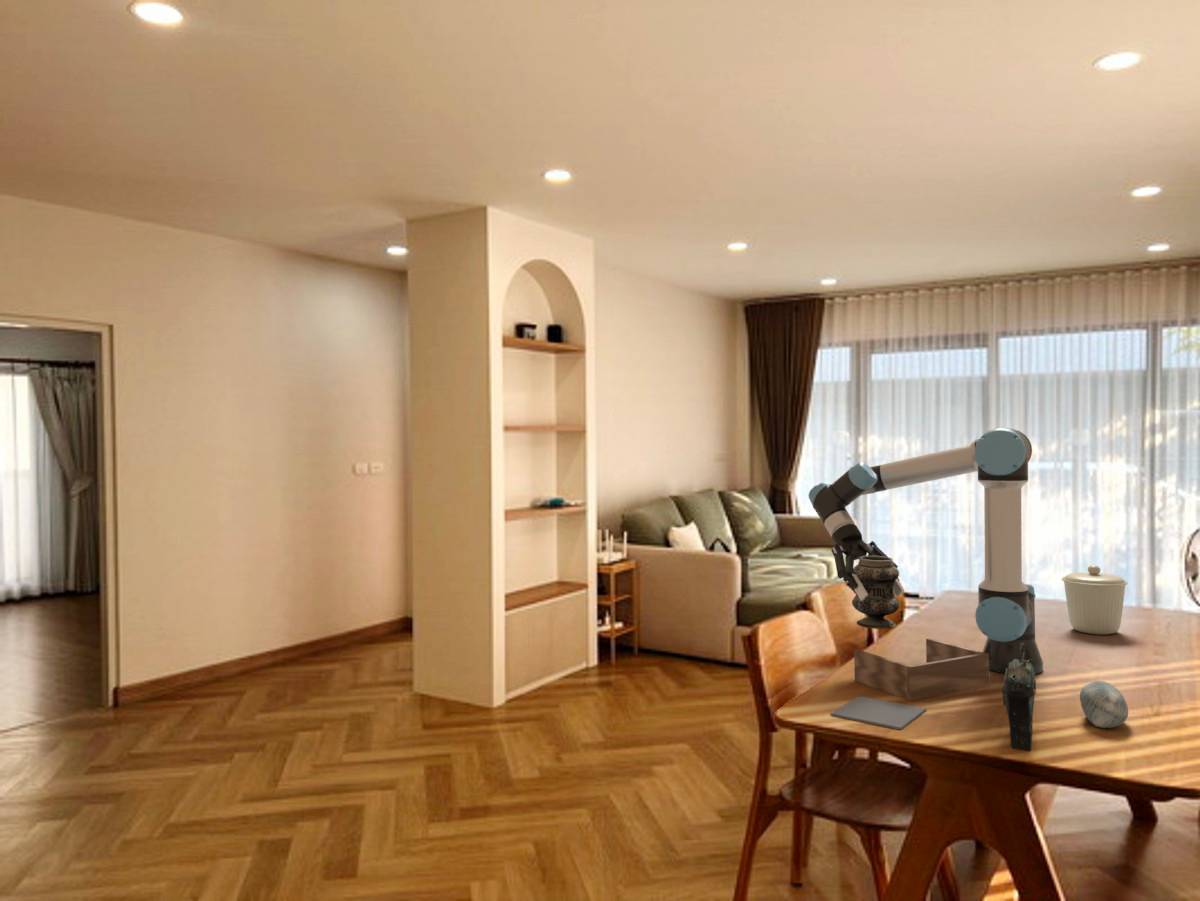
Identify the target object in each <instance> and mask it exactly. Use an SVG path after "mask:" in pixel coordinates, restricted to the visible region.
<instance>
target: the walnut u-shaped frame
mask: <svg viewBox="0 0 1200 901" xmlns="http://www.w3.org/2000/svg"><path fill="white" fill-rule="evenodd" d="M925 652H926V653H925V654H926V658H925V659H926V662H925V663H918V664H912V665H909V664H906V663H905V662H904V663H903V662H900V661H897V660H894V659H890V658H887V657H884V656H882V655H881V656H880V655H877V654H874V653H871V652H868V651H864V650H861V649H854V650H853V653H854V654H853V655H854V656H853V657H854V659H853V660H854V681H855V682H857V681H858V682H857V683H860V682H861V683H860V684H862V683H863V685H865V684H866V685H865V686H868V687H871V686H872V687H871V688H873V689H876V688H877V689H876V690H879V689H880V691H882V690H883V692H885V693H888V694H890V693H891V695H893V694H894V696H895V697H899V696H900V697H899V698H902V697H903V698H902V699H904V698H905V700H907V699H908V700H907V701H910V702H912V700H913V701H917V700H922V699H928V698H933V696H934V697H937V696H938V695H939V696H943V694H944V695H949V694H953V693H959V692H964V691H968V690H969V691H970V690H972V689H978V688H982V687H988V686H989V687H990V670H989V654H988V653H984V652H983V651H980V650H976V649H971V648H968V647H965V646H961V645H957V644H953V643H949V642H945V641H941V640H937V639H933V638H930V637H928V638H926V639H925ZM939 696H938V697H939Z"/></svg>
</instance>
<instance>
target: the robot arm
mask: <svg viewBox="0 0 1200 901" xmlns="http://www.w3.org/2000/svg"><path fill="white" fill-rule="evenodd" d="M1032 453H1033V447H1032V443H1031V440H1030V439H1029V438H1028V436H1027V435H1026V434H1024V433H1023V432H1021V431H1020V430H1017V429H1014V428H1007V427H999V428H993V429H990V430H988V431H986V432H984V434H982V435H981V436H980V438H977V439H973V441H972V442H971V443H970V444H967V445H963V446H958V447H953V448H950V449H945V450H941V451H937V452H933V453H932V452H931V453H927V454H923V455H918V456H915V457H910V458H906V459H905V458H904V459H900V460H896V461H893V462H888V463H884V464H883V463H882V464H879V465H875V466H870V465H868V464H867V463H865V462H862V461H861V462H860V461H859V462H857V463H856V464H855V465H853V466H851V467H850V468H849V469H848V470H847V471H846V472H845V473H844V474H842V475H841V476H840V477H838V478H837V479H836V480H835V481H834V482H832V483H831V484H830V483H829V482H827V481H826V482H821V483H819V484H817V485H814V486H812V488H811V489H810V490H809V492H808V498H809V501H810V503H811V505H812V508H813V510H815V512H816V514H817V516H818V517H819V518H820V520H821V522H822V523H823V525H824V527H825V529H826V531H827V532H828V534H829V536H830V537H831V539H832V540H833V543H834V544H835V545H834V546H833V547H832V549H831V551H830V552H831V553H832V555H833V557H834V562H835V569H836V574H837V577H838V579H840V580H841V579H842V581H844V582H845V583H848V584H849V586H850V588H851V589H852V590H854V592H855V593H856V595H858V597H859V598H860V600H861V601H863V600H864V599H865V598H866V597H867V596H868V593H867V592H866V590H865V588H864V587H863V585H862V583H861V582H860V580H859V578H858V577H857V575H856V574H854V575H853V569H854V567H855V566H854V564H855V561H856V560H859V558H860V557H861V556H883V557H889V556H887V554H885V552H883V551H882V549H880V547H878V545H877V544H876V542H875V541H873V540H872V541H871V542H870V543H866V542H865V541H864V540H863V535H862V533H861V531H860V529H859V528H858V526H857V525H856V523H855V521H854V520H853V517H851V514H850V513H849V512H848V510H847V509H846V507H848V506H849V505H850V504H851V503H853V502H854V501H855V500H857V499H858V498H860V497H861V496H865V495H871V494H875V493H879V492H884V491H889V490H893V489H898V488H902V487H908V486H912V485H913V486H914V485H916V484H918V485H919V484H921V483H926V482H932V481H937V480H941V479H946V478H947V479H948V478H952V477H957V476H961V475H966V474H970V473H975V472H977V482H978V483H980V484H981V485H982V487H983V488H984V491H983V492H984V493H983V494H984V498H983V499H984V500H983V501H984V502H983V504H984V508H983V509H984V517H983V518H984V579H983V580H982V581H981V582H980V583H979V584H978V586H977V589H978V592H977V593H978V594H977V595H978V597H977V598H978V603H977V604H978V605H977V608H976V610H975V614H974V615H975V616H974V617H975V623H976V626H977V627H978V628H977V629H979V630H980V632H981V633H982V634H983V635H984V636H986V640H985V643H984V647H983V649H982V652H984V653H988V654H989V671H992V672H997V673H1003V674H1005V670H1006V668H1007V669H1008V664H1009V663H1010V662H1012V661H1013V660H1014V659H1018V660H1019V646H1020V643H1024V645H1023V647H1022V650H1021V660H1022V654H1023V653H1025V655H1026V657H1025V660H1030V659H1032V661H1031V665H1032V666H1033V668H1034V675H1035V674H1040V673H1042V672H1044V661H1043V658H1042V656H1041V653H1040V650H1039V647H1038V644H1037V642H1036V614H1035V613H1036V610H1035V607H1036V604H1035V601H1036V600H1035V598H1036V593H1035V588H1034V586H1033V585H1032V584H1029V583H1024V582H1023V581H1022V579H1023V576H1022V573H1023V572H1022V571H1023V570H1022V569H1023V567H1022V566H1023V564H1022V562H1023V560H1022V559H1023V558H1022V555H1023V553H1022V551H1023V550H1022V547H1023V546H1022V536H1023V535H1022V488H1023V487H1024V486H1025V485H1026V484H1027V483H1028V482H1029V462H1030V460H1031V459H1032V458H1031V457H1032V455H1033V454H1032ZM844 555H845V557H844ZM844 558H845V559H844ZM893 564H894V566H895V567H896V568H897V569H898V567H899V566H898V565H897V564H896V563H895V562H894V561H893ZM904 591H905V588H904V587H903V586H902V584H901V582H900V579H899V577H898V578H897V579H896V580H895V596H896V597H900V596H901V595H902V594H903V592H904Z"/></svg>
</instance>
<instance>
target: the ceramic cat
mask: <svg viewBox="0 0 1200 901" xmlns="http://www.w3.org/2000/svg"><path fill="white" fill-rule="evenodd" d="M1023 645H1024V643H1020V646H1019V660H1018V659H1014V660H1013V661H1012V662H1010V663H1009V664H1008V669H1007V668H1006V670H1005V673H1004V678H1003V683H1002V684H1003V685H1002V688H1001V692H1002V701H1003V702H1002V703H1003V706H1005V708H1006V713H1007V718H1008V723H1009V724H1008V725H1009V726H1008V727H1009V738H1010V740H1009V741H1010V745H1011V748H1012V749H1016V750H1022V751H1027V752H1028V751H1031V749H1032V743H1033V720H1034V719H1033V718H1034V717H1033V716H1034V705H1035V696H1036V694H1037V692H1036V691H1037V688H1036V686H1037V682H1036V681H1037V680H1036V676H1035V674H1034V668H1033V666H1032V665H1031V661H1032V659H1030V660H1025V657H1026V655H1025V653H1023V654H1022V660H1021V650H1022V647H1023Z"/></svg>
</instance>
